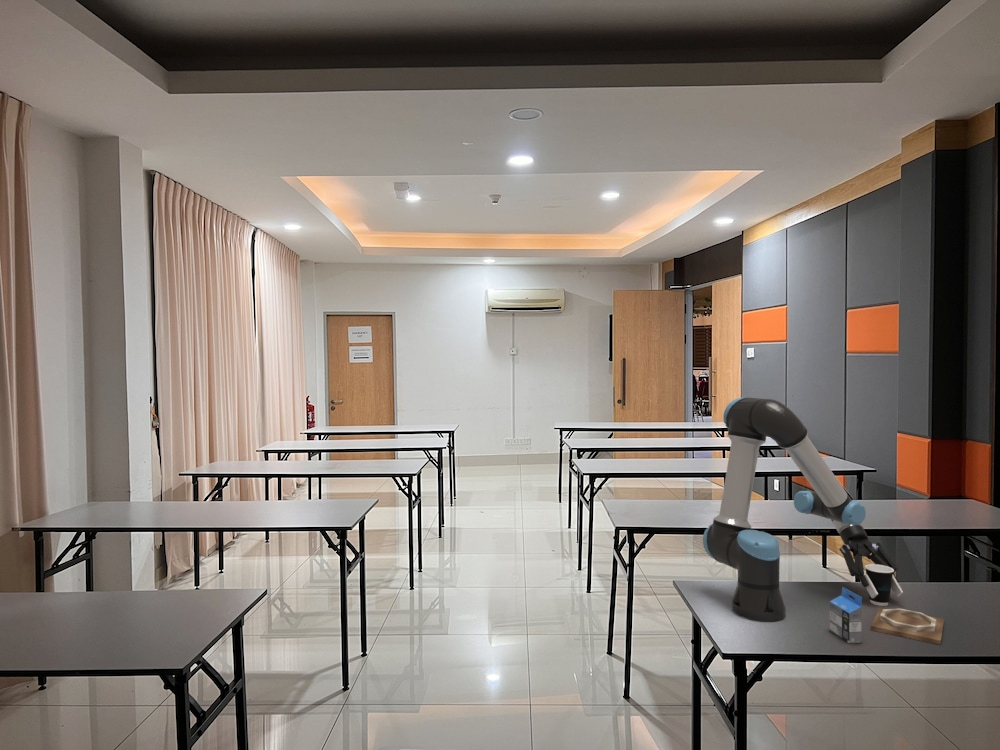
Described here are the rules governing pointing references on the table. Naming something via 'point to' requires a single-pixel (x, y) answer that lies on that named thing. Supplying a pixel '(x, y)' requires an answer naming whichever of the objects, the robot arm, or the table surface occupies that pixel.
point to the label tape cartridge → (846, 616)
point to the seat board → (908, 624)
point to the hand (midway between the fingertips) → (887, 595)
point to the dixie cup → (880, 582)
